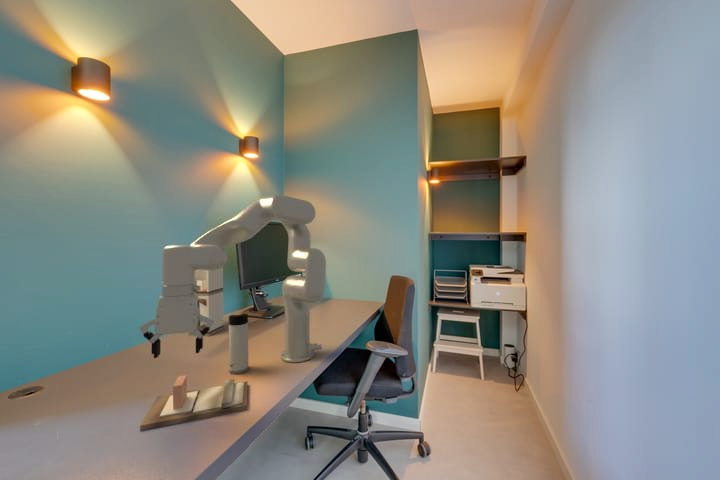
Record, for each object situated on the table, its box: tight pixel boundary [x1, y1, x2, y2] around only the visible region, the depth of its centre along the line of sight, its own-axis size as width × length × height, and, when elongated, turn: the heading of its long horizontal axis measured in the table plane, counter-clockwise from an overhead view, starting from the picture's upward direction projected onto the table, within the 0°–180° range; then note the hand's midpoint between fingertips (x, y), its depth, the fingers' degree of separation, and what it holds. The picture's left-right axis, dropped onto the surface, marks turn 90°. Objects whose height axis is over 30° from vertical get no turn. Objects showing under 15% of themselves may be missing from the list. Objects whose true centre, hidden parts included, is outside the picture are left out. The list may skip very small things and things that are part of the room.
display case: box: [188, 266, 224, 337], centre depth 144 cm, size 11×11×35 cm
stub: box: [160, 374, 198, 417], centre depth 79 cm, size 7×10×6 cm
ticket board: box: [139, 378, 249, 431], centre depth 81 cm, size 24×14×3 cm, turn 110°
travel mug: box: [228, 313, 249, 375], centre depth 102 cm, size 6×7×20 cm
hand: (178, 353), depth 79 cm, fingers open, 9 cm apart
